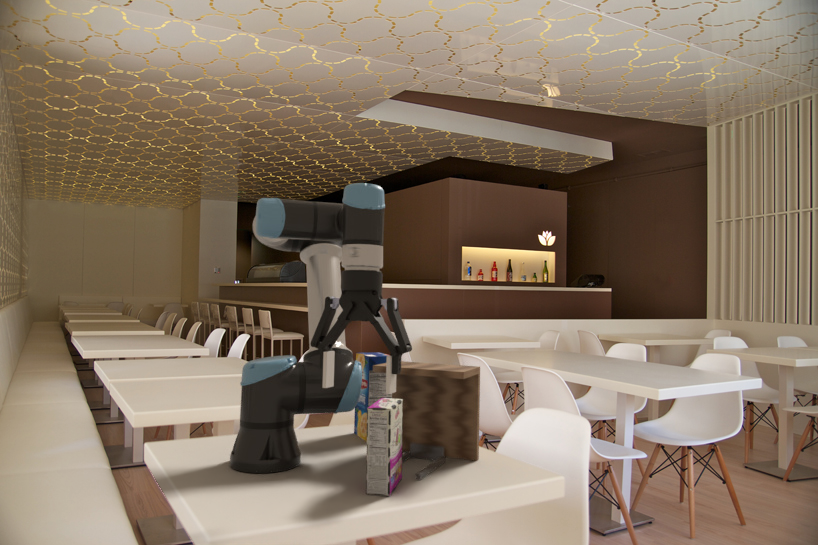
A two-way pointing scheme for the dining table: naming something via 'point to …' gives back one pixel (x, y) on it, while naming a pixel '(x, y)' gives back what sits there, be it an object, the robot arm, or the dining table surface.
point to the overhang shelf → (438, 411)
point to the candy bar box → (384, 446)
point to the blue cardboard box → (369, 389)
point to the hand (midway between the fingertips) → (358, 390)
